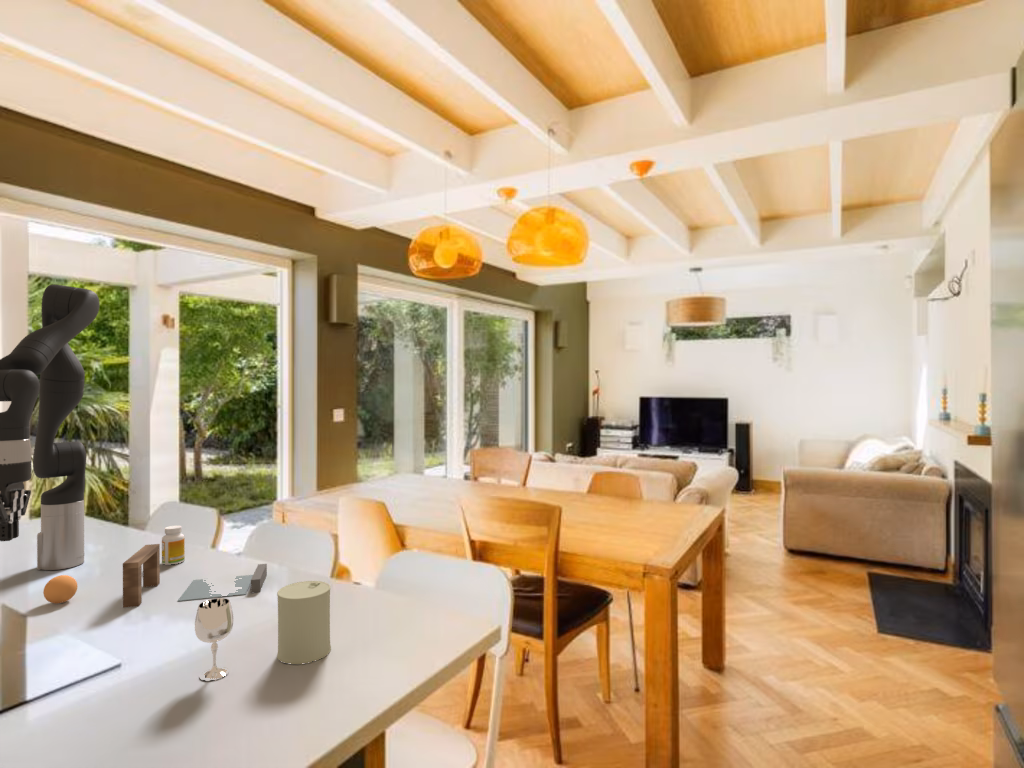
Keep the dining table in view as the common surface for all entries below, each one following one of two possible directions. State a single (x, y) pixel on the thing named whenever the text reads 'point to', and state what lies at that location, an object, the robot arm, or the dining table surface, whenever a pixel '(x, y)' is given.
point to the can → (303, 622)
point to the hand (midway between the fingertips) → (9, 539)
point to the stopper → (258, 578)
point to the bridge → (140, 574)
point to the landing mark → (201, 591)
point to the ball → (60, 589)
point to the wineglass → (214, 628)
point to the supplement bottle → (173, 546)
